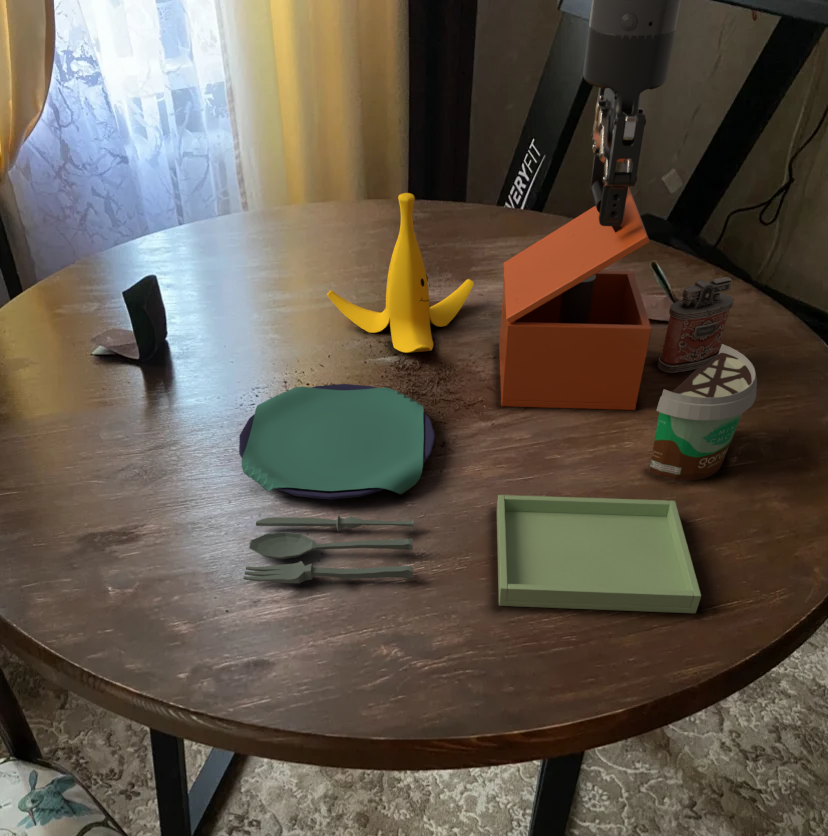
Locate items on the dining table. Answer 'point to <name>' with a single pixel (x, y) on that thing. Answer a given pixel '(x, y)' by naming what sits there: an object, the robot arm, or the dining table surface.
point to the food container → (702, 417)
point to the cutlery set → (333, 466)
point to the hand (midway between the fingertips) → (604, 208)
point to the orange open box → (577, 351)
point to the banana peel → (406, 294)
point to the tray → (594, 554)
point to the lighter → (696, 326)
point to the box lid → (570, 256)
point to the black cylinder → (577, 302)
